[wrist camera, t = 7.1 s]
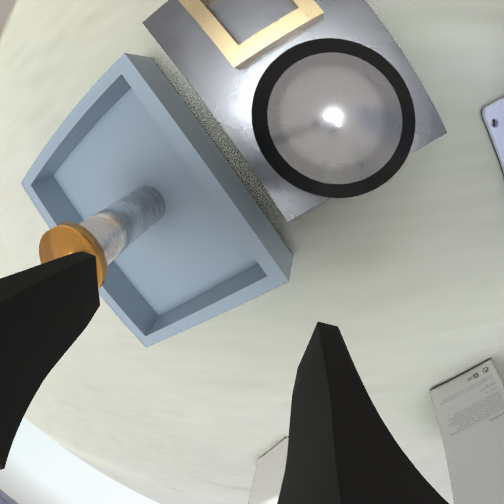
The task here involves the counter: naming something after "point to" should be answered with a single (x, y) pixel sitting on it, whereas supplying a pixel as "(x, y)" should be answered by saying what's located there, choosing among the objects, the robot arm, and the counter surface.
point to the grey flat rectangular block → (302, 91)
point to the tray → (175, 197)
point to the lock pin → (105, 230)
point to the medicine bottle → (269, 475)
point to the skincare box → (473, 434)
